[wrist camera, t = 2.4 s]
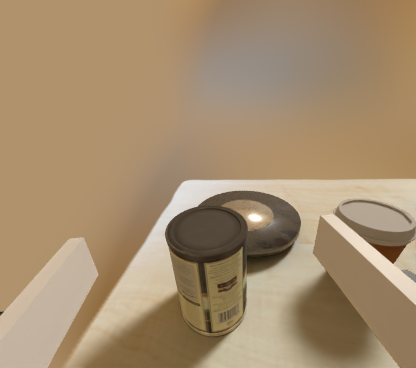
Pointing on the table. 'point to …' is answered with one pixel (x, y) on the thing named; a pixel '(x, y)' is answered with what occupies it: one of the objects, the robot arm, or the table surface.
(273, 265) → the table surface
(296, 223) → the turntable platter
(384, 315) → the robot arm
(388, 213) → the disposable coffee cup
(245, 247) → the coffee can
